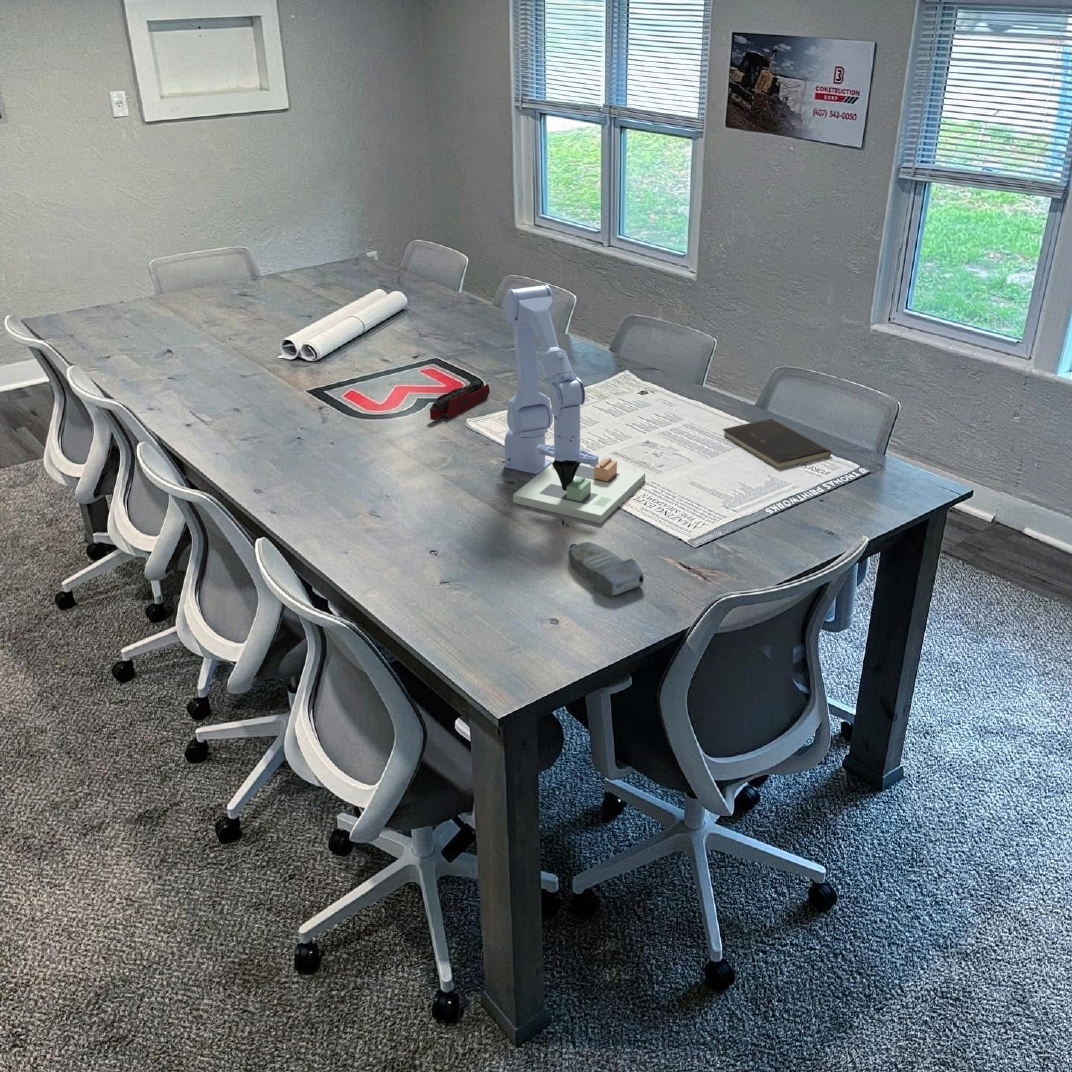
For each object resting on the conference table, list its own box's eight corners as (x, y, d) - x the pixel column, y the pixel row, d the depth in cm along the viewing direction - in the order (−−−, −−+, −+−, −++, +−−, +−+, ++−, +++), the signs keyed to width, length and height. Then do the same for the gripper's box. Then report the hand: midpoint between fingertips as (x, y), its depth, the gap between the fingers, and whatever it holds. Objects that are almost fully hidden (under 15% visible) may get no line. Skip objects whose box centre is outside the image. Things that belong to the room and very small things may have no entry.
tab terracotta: (593, 478, 244) (594, 464, 243) (603, 470, 248) (603, 456, 246) (607, 481, 243) (607, 467, 241) (616, 473, 247) (617, 459, 245)
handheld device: (589, 546, 221) (590, 527, 219) (649, 588, 207) (650, 568, 204) (551, 559, 217) (551, 540, 215) (609, 603, 202) (610, 583, 200)
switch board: (513, 502, 239) (513, 494, 238) (562, 462, 257) (562, 455, 256) (600, 523, 230) (601, 515, 229) (644, 480, 248) (645, 472, 247)
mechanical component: (439, 425, 280) (438, 406, 277) (426, 422, 282) (425, 402, 279) (490, 398, 297) (490, 379, 294) (477, 395, 299) (477, 376, 296)
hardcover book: (777, 471, 253) (778, 462, 252) (722, 437, 271) (722, 428, 270) (830, 458, 259) (831, 449, 258) (772, 425, 277) (773, 417, 276)
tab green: (566, 498, 236) (566, 483, 234) (576, 489, 239) (576, 475, 238) (580, 501, 234) (580, 487, 232) (590, 492, 238) (590, 478, 236)
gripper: (529, 433, 231) (530, 489, 238) (588, 445, 225) (588, 502, 231) (544, 422, 236) (545, 477, 243) (602, 434, 230) (601, 489, 237)
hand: (567, 488), depth 237 cm, fingers closed
